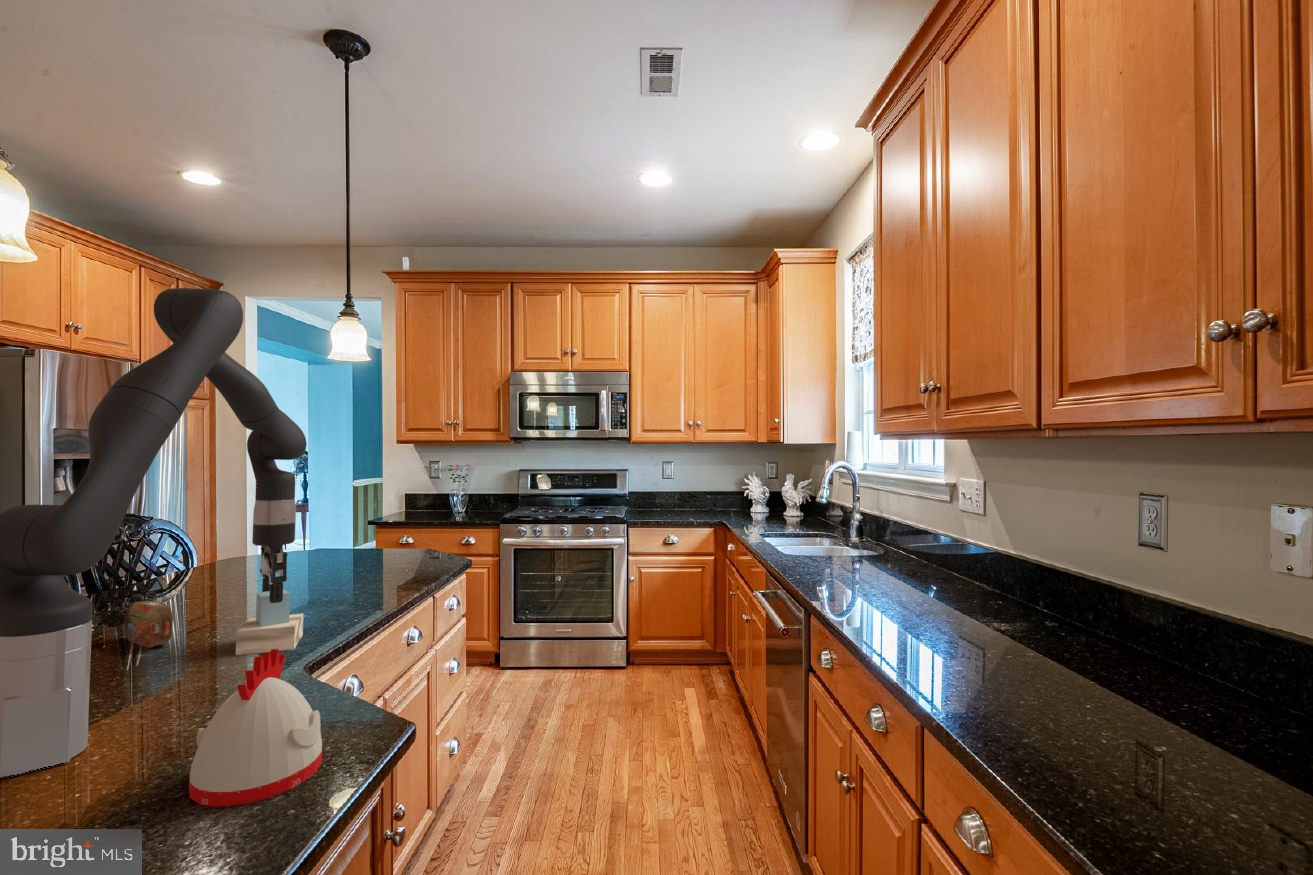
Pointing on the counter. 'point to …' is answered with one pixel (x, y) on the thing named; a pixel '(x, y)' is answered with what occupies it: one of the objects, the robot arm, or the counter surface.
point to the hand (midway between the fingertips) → (272, 598)
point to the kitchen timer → (256, 740)
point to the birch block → (269, 636)
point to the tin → (148, 624)
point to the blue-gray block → (272, 609)
